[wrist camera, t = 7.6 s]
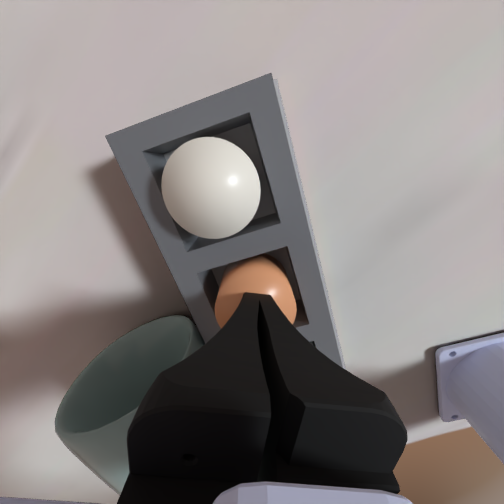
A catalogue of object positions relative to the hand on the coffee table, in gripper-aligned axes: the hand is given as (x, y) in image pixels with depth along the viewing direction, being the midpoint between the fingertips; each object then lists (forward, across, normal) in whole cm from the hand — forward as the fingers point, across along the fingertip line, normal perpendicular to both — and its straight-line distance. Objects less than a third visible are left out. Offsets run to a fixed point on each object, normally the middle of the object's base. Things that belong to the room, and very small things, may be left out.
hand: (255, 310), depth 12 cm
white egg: (+3, +2, -5) cm, 7 cm away
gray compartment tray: (+4, 0, 0) cm, 4 cm away
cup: (+1, +2, +14) cm, 14 cm away
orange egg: (+3, 0, 0) cm, 3 cm away
